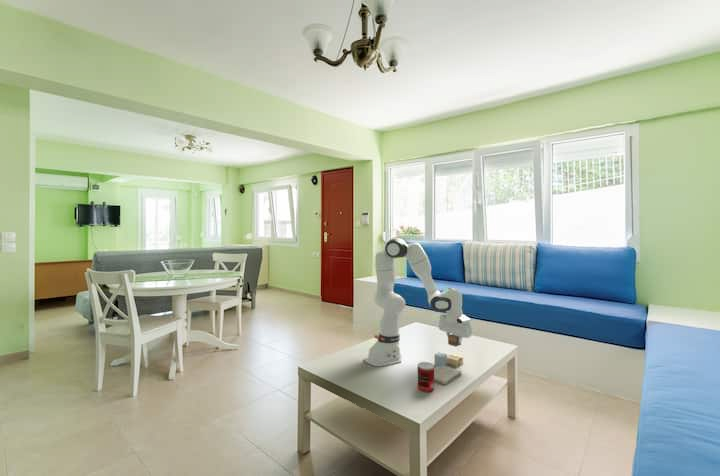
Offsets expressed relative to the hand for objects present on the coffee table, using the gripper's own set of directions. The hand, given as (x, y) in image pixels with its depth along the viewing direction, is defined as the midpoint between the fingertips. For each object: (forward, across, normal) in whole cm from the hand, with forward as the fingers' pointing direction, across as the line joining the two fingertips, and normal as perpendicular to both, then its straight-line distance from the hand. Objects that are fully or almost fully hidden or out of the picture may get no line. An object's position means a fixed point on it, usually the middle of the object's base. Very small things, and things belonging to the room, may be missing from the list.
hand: (454, 341), depth 179 cm
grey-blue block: (+12, -3, -8) cm, 15 cm away
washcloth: (+13, +7, -18) cm, 23 cm away
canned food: (+12, +11, -35) cm, 39 cm away
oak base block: (+13, 0, 0) cm, 13 cm away
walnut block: (+2, 0, 0) cm, 2 cm away
